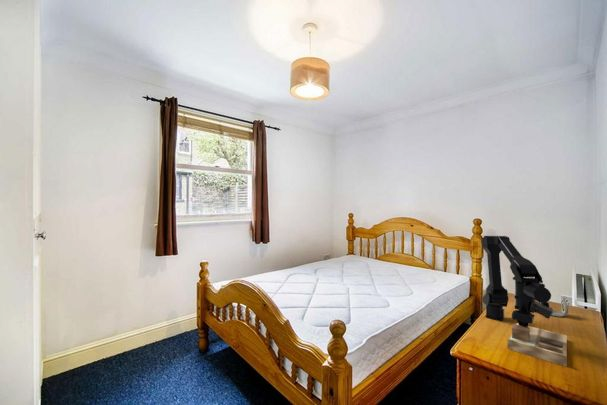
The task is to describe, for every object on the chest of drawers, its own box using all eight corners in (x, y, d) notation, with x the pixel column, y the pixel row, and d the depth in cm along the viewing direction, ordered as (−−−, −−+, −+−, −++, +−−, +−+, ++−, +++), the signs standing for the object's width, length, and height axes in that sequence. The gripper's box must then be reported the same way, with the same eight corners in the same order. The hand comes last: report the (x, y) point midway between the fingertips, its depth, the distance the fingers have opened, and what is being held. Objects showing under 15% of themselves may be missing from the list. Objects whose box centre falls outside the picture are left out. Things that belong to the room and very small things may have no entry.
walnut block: (511, 337, 105) (511, 327, 106) (513, 333, 109) (513, 323, 109) (528, 342, 102) (528, 331, 102) (529, 337, 106) (529, 327, 106)
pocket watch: (542, 312, 136) (542, 292, 136) (557, 311, 137) (557, 292, 137) (559, 319, 128) (558, 298, 128) (574, 318, 129) (574, 297, 129)
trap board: (507, 348, 101) (507, 339, 101) (516, 327, 119) (516, 319, 119) (566, 366, 90) (566, 356, 90) (566, 340, 108) (566, 331, 108)
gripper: (550, 305, 96) (550, 348, 96) (552, 293, 109) (552, 331, 109) (511, 297, 104) (511, 338, 104) (517, 287, 117) (517, 322, 117)
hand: (524, 332), depth 108 cm, fingers closed
